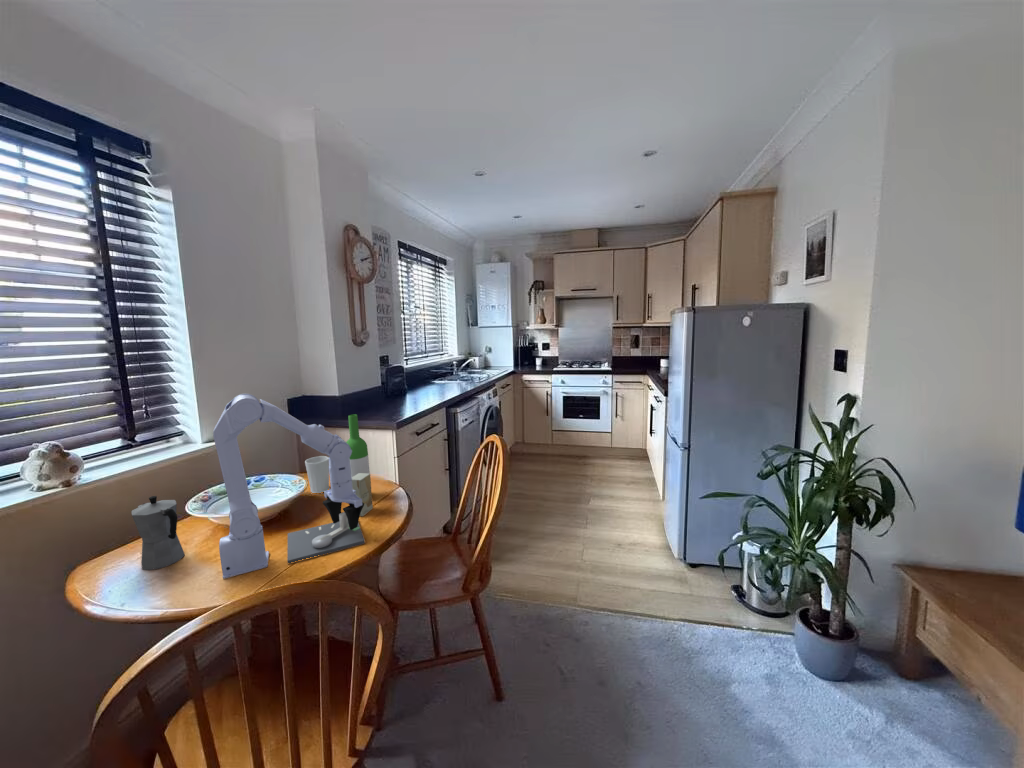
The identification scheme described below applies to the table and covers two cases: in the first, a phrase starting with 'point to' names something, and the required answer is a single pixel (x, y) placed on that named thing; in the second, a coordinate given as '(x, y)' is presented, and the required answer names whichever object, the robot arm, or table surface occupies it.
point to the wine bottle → (357, 449)
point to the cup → (318, 473)
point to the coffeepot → (158, 533)
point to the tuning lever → (327, 538)
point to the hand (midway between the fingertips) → (345, 524)
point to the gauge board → (302, 539)
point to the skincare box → (363, 490)
